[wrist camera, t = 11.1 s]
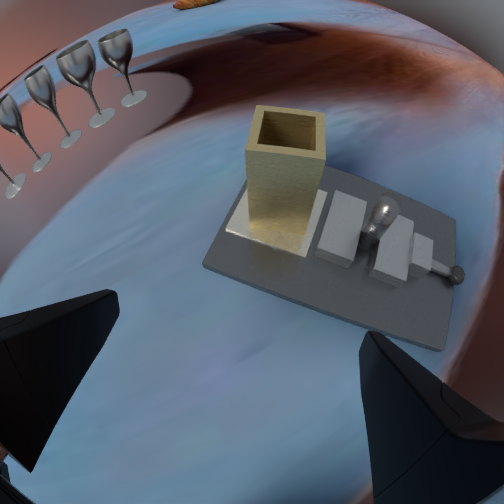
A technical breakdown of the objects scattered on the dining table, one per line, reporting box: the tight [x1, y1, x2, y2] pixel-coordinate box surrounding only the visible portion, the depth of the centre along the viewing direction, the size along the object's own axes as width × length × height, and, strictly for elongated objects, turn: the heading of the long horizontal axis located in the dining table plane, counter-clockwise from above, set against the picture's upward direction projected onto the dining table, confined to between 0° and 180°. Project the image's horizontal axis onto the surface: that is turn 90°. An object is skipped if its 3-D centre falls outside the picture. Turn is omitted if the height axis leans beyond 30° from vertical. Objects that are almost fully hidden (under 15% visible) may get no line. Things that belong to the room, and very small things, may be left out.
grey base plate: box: [202, 165, 465, 352], centre depth 21 cm, size 14×23×7 cm, turn 67°
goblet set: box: [0, 29, 147, 199], centre depth 26 cm, size 28×6×13 cm, turn 130°
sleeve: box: [245, 105, 326, 235], centre depth 20 cm, size 5×5×9 cm
